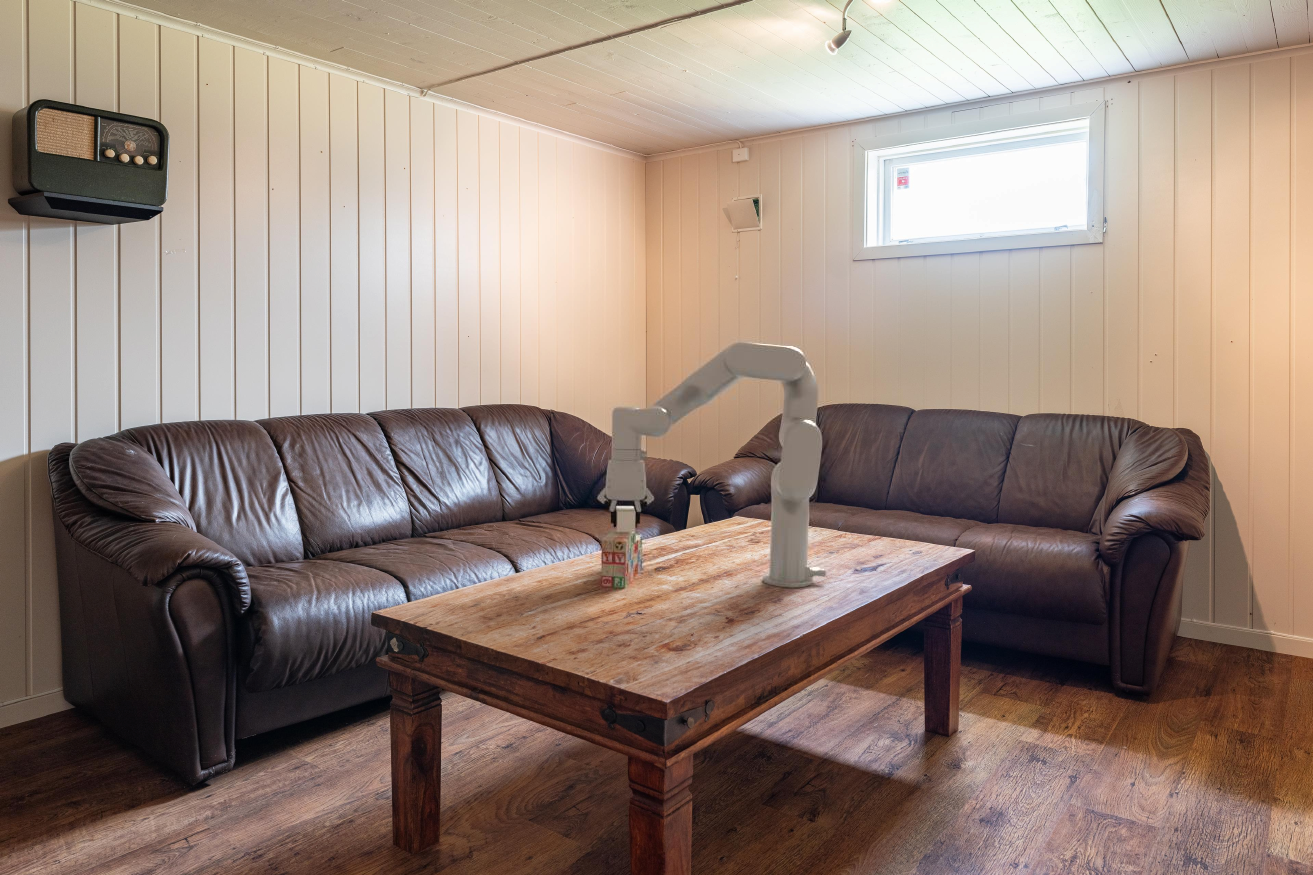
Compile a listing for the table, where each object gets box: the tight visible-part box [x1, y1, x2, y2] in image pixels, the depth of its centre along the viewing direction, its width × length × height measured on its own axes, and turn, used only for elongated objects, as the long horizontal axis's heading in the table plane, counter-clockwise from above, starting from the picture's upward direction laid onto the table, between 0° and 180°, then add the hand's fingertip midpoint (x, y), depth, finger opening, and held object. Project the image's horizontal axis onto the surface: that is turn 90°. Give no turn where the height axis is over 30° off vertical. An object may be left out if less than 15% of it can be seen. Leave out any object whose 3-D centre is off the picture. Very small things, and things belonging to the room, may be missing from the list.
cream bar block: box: [615, 505, 636, 532], centre depth 222 cm, size 4×9×5 cm, turn 5°
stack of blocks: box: [600, 529, 643, 589], centre depth 224 cm, size 21×6×12 cm, turn 170°
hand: (625, 525), depth 222 cm, fingers closed on cream bar block, 4 cm apart
